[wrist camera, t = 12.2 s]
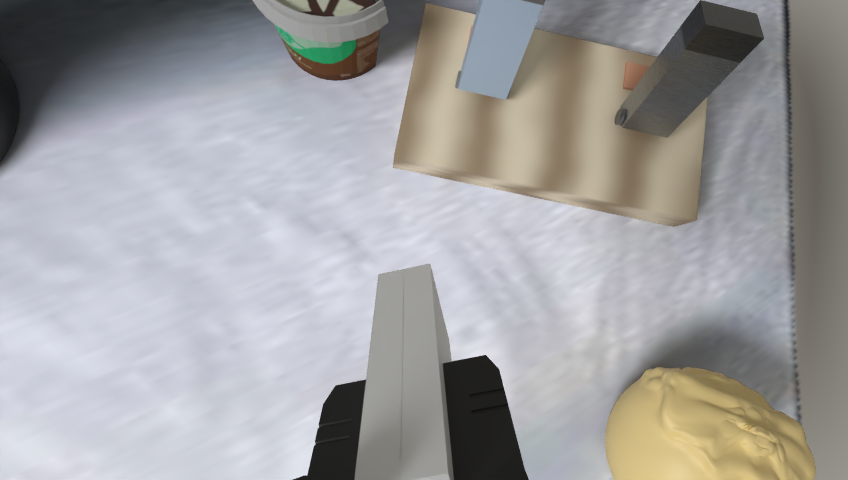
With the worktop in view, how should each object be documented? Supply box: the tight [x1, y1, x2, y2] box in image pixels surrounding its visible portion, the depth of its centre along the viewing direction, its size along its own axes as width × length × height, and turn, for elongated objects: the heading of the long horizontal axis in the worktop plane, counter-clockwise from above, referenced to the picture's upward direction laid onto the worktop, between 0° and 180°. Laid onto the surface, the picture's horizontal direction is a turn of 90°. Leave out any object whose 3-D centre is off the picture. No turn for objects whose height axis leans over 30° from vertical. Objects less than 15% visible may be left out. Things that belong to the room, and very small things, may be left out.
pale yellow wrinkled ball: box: [605, 367, 816, 480], centre depth 33 cm, size 12×12×11 cm
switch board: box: [393, 3, 708, 226], centre depth 40 cm, size 26×14×3 cm, turn 79°
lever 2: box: [615, 0, 764, 138], centre depth 34 cm, size 4×2×11 cm, turn 79°
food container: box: [253, 0, 389, 80], centre depth 36 cm, size 12×6×10 cm, turn 46°
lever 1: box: [455, 0, 545, 100], centre depth 34 cm, size 4×2×11 cm, turn 79°
